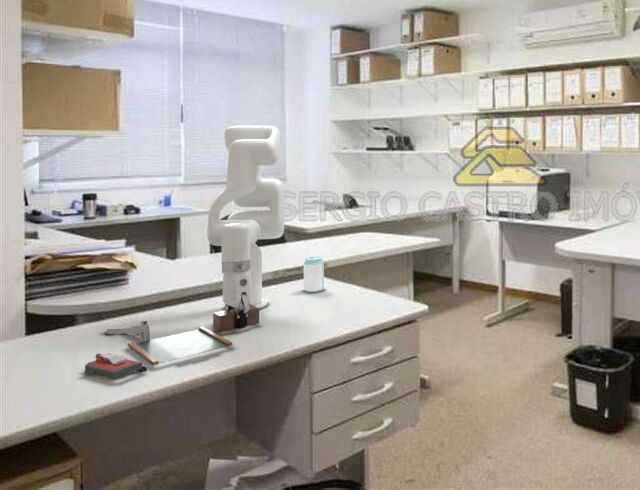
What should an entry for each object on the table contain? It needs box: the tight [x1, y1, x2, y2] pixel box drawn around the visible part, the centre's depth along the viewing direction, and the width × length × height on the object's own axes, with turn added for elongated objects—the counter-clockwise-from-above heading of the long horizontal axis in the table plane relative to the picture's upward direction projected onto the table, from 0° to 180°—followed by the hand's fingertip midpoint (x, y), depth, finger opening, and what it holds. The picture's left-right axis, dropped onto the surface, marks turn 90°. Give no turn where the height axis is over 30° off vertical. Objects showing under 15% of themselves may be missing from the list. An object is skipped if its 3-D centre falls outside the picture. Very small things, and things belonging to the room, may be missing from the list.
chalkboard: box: [127, 326, 233, 366], centre depth 149 cm, size 20×18×2 cm
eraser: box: [212, 305, 260, 332], centre depth 165 cm, size 5×11×6 cm, turn 138°
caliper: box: [104, 320, 151, 341], centre depth 157 cm, size 20×1×6 cm, turn 61°
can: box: [303, 256, 325, 293], centre depth 209 cm, size 7×7×12 cm
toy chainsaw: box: [84, 352, 148, 380], centre depth 134 cm, size 9×4×20 cm
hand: (236, 328), depth 165 cm, fingers closed on eraser, 5 cm apart
